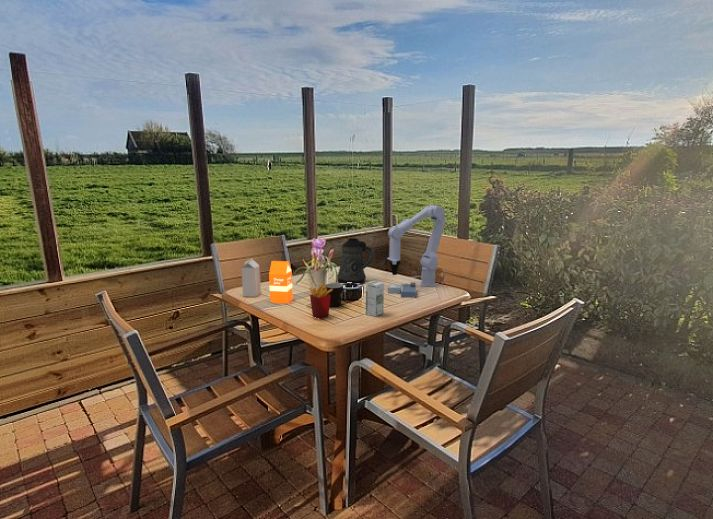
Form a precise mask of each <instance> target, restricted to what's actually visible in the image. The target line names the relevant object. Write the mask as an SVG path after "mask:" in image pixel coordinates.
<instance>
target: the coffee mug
mask: <svg viewBox="0 0 713 519" xmlns="http://www.w3.org/2000/svg"><path fill="white" fill-rule="evenodd" d="M325 284H326V285H327V286H326V289H327V291H328V290H330V289H332V290H333V291H331V292H329V293H328V295H331V296H330V307H329V309H330V308H331V309H338V308H341V307H342V304H343V302H342V301H343V292H344V285H343V284H340V283H338V282H331V283H325ZM340 306H341V307H340Z"/></svg>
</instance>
